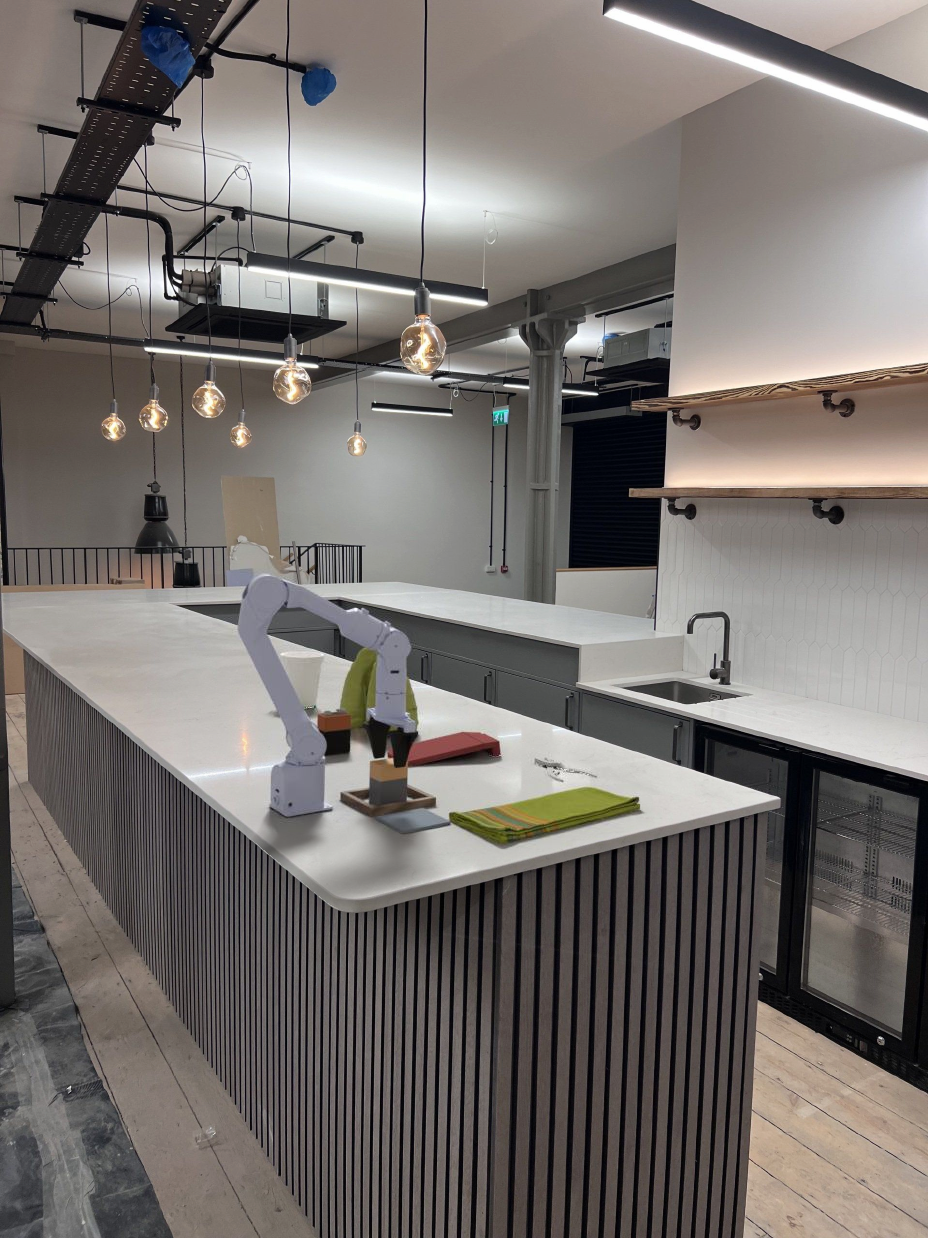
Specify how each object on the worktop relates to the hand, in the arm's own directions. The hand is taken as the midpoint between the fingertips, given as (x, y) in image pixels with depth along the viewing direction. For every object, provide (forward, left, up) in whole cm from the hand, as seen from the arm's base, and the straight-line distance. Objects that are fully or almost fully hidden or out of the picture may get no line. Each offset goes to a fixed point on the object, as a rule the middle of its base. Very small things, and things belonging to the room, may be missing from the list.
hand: (389, 762), depth 169 cm
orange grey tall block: (0, 0, -8) cm, 8 cm away
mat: (-2, -12, -8) cm, 14 cm away
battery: (+9, +39, -8) cm, 41 cm away
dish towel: (+22, -21, -9) cm, 31 cm away
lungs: (+31, +55, -8) cm, 63 cm away
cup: (+26, +91, -8) cm, 95 cm away
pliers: (+45, +1, -8) cm, 46 cm away
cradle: (0, 0, -8) cm, 8 cm away
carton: (+30, +24, -9) cm, 39 cm away
